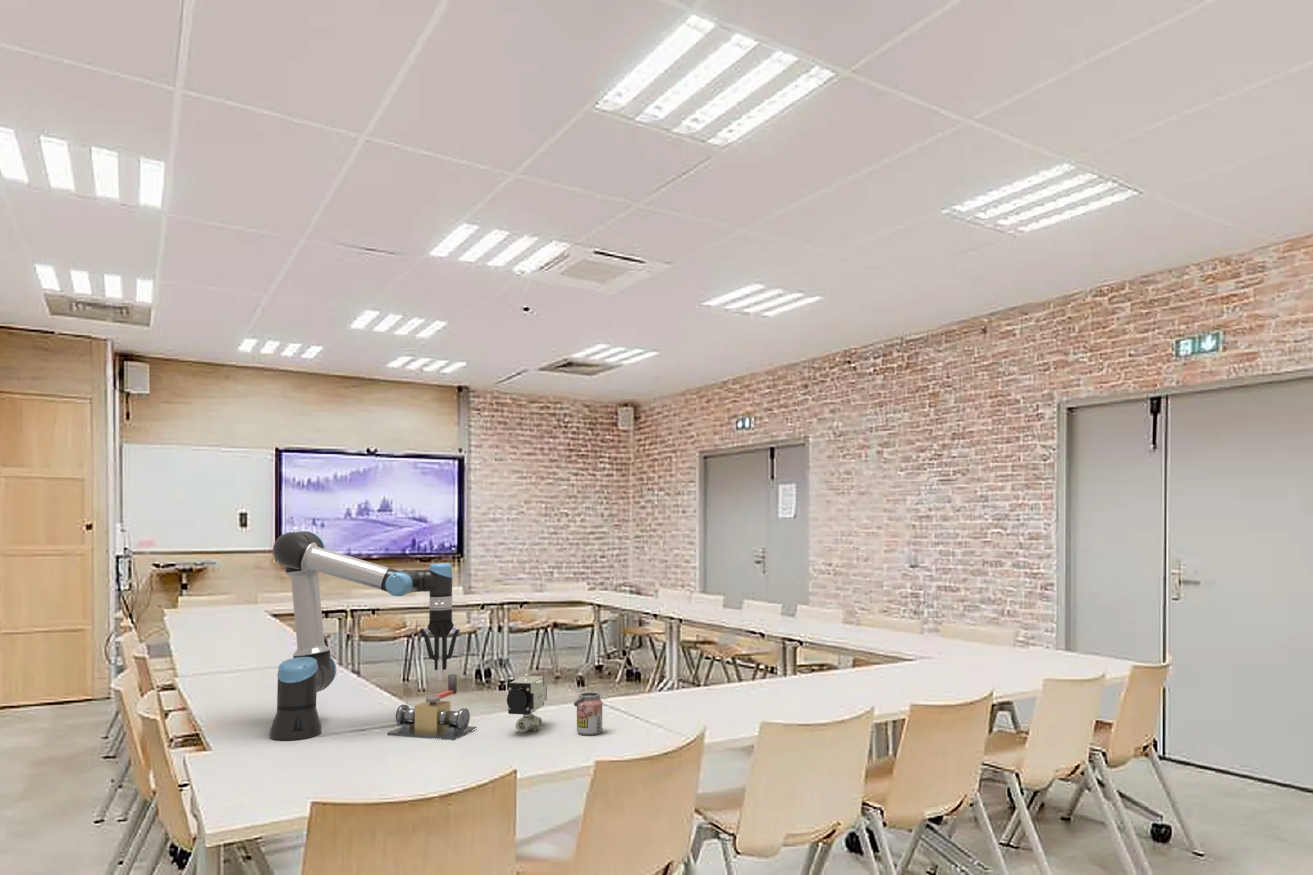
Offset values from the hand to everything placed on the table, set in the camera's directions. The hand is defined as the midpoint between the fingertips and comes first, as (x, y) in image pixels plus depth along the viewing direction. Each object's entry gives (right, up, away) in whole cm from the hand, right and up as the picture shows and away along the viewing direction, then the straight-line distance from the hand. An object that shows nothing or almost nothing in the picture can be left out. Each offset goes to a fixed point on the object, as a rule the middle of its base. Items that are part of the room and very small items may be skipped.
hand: (440, 679), depth 288 cm
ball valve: (+32, -13, -13) cm, 37 cm away
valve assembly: (+1, -13, -14) cm, 19 cm away
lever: (+3, -3, -8) cm, 9 cm away
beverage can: (+51, -12, -17) cm, 56 cm away
